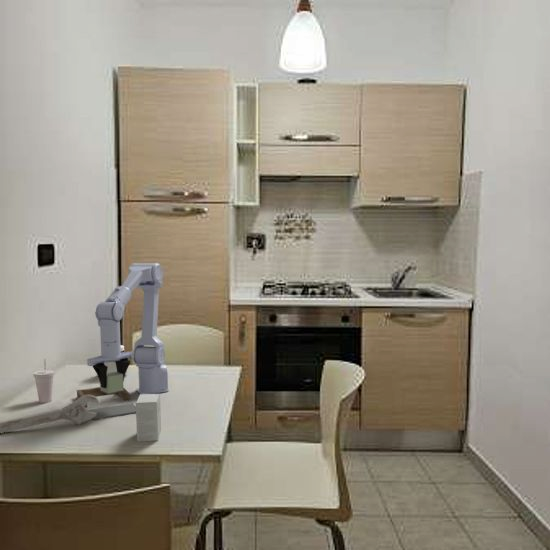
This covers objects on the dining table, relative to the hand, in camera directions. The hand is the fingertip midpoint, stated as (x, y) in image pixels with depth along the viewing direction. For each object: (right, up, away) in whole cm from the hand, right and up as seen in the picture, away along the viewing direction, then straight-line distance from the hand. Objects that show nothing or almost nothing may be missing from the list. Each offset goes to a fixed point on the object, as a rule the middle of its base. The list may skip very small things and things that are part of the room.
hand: (112, 385), depth 176 cm
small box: (+16, -10, -21) cm, 28 cm away
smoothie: (-26, -8, +13) cm, 30 cm away
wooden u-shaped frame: (-7, -7, +15) cm, 18 cm away
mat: (0, -8, +1) cm, 8 cm away
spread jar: (-13, -5, +45) cm, 47 cm away
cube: (0, -2, 0) cm, 2 cm away
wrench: (-15, -10, -13) cm, 22 cm away
